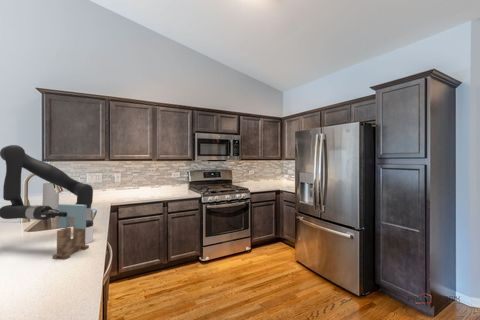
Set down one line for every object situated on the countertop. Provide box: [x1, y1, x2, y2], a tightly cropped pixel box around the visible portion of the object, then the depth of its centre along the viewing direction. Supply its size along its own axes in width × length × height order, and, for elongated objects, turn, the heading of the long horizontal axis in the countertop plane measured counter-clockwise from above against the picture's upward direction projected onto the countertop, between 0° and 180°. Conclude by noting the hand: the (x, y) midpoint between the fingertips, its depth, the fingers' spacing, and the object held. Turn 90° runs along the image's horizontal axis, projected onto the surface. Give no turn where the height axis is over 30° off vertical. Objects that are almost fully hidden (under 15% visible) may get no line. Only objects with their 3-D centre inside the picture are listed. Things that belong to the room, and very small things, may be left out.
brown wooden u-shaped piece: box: [51, 224, 90, 260], centre depth 127 cm, size 16×7×14 cm, turn 174°
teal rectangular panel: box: [57, 203, 87, 229], centre depth 127 cm, size 14×2×12 cm, turn 84°
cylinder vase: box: [42, 182, 60, 209], centre depth 235 cm, size 12×12×25 cm
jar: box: [85, 219, 94, 245], centre depth 145 cm, size 9×8×12 cm
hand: (68, 214), depth 128 cm, fingers closed on teal rectangular panel, 2 cm apart
